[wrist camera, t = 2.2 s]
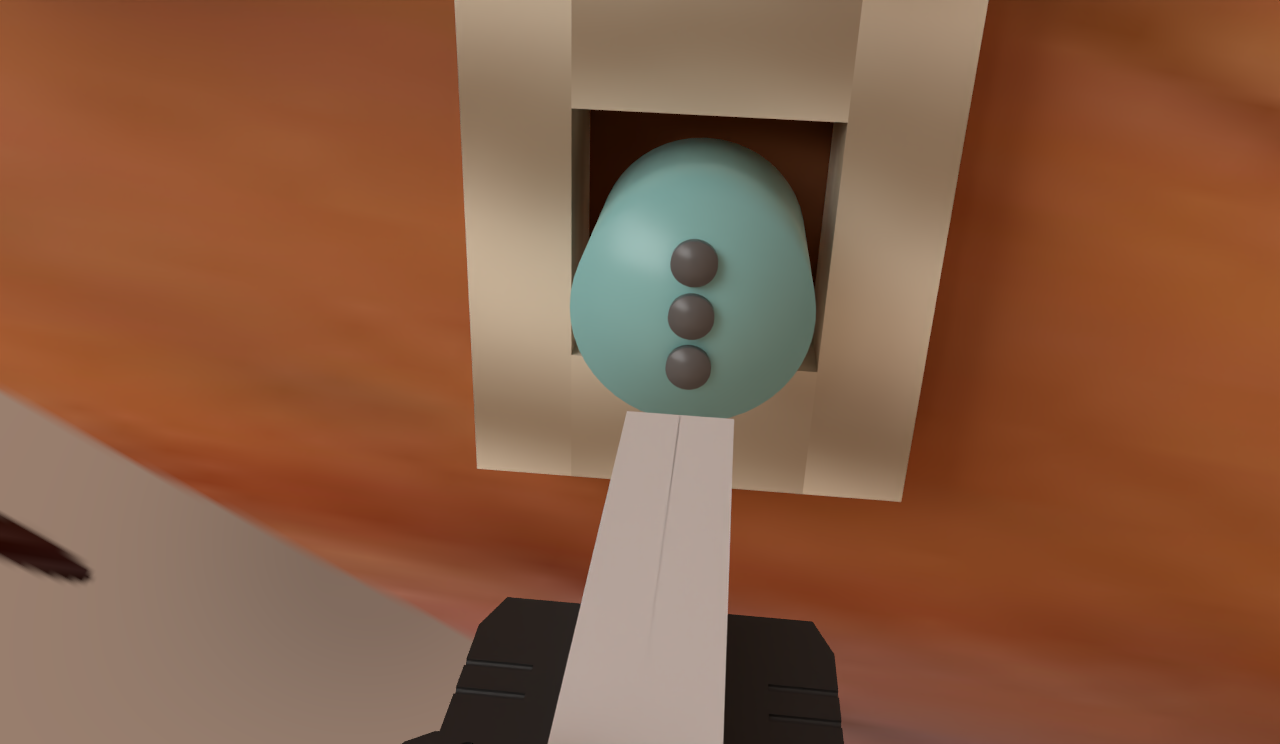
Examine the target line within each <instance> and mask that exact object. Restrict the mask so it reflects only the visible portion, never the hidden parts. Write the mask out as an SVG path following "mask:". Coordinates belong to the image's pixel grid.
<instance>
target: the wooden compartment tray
mask: <svg viewBox="0 0 1280 744" xmlns="http://www.w3.org/2000/svg"><path fill="white" fill-rule="evenodd" d="M988 1H989V0H455V21H456V42H457V62H458V83H459V104H460V124H461V145H462V166H463V186H464V207H465V228H466V248H467V269H468V290H469V310H470V331H471V352H472V372H473V393H474V414H475V434H476V455H477V469H489V470H502V471H515V472H528V473H540V474H553V475H566V476H579V477H591V478H604V479H611V476H612V472H613V467H614V463H615V459H616V455H617V451H618V446H619V442H620V438H621V434H622V430H623V426H624V421H625V417H626V413H627V411H633V412H643V411H640V410H638V409H636V408H634V407H633V406H631V405H629V404H627V403H625V402H624V401H623V400H621V399H620V398H618V397H617V396H615V395H614V394H613V393H612V392H611V391H609V390H608V389H607V388H606V387H605V386H604V385H603V384H602V383H601V382H600V381H599V380H598V379H597V378H596V376H595V375H594V374H593V373H592V371H591V370H590V368H589V367H588V365H587V364H586V363H585V361H584V359H583V357H582V355H581V353H580V351H579V349H578V346H577V343H576V340H575V338H574V334H573V330H572V325H571V318H570V295H571V288H572V284H573V279H574V276H575V273H576V270H577V267H578V265H579V262H580V260H581V258H582V255H583V253H584V251H585V248H586V246H587V244H588V241H589V204H590V109H594V110H613V111H632V112H652V113H671V114H690V115H709V116H729V117H748V118H767V119H786V120H806V121H825V122H834V125H833V134H832V142H831V151H830V160H829V168H828V177H827V186H826V194H825V203H824V211H823V220H822V229H821V237H820V246H819V255H818V263H817V272H816V281H815V289H814V292H815V302H816V321H815V328H814V333H813V338H812V341H811V344H810V347H809V350H808V352H807V354H806V356H805V358H804V360H803V362H802V364H801V366H800V367H799V369H798V370H797V371H796V373H795V374H794V376H793V377H792V378H791V379H790V380H789V382H788V383H787V384H786V385H785V386H784V387H783V388H782V389H781V390H780V391H779V392H777V393H776V394H775V395H774V396H773V397H771V398H770V399H768V400H767V401H765V402H764V403H762V404H761V405H759V406H757V407H755V408H753V409H751V410H749V411H747V412H745V413H742V414H739V415H736V416H733V417H731V418H726V419H734V437H733V466H732V489H744V490H757V491H769V492H782V493H795V494H808V495H820V496H833V497H846V498H859V499H871V500H884V501H897V502H901V500H902V494H903V488H904V483H905V477H906V471H907V465H908V460H909V454H910V448H911V443H912V437H913V431H914V425H915V420H916V414H917V408H918V402H919V397H920V391H921V385H922V379H923V374H924V368H925V362H926V357H927V351H928V345H929V339H930V334H931V328H932V322H933V316H934V311H935V305H936V299H937V293H938V288H939V282H940V276H941V271H942V265H943V259H944V253H945V248H946V242H947V236H948V230H949V225H950V219H951V213H952V207H953V202H954V196H955V190H956V185H957V179H958V173H959V167H960V162H961V156H962V150H963V144H964V139H965V133H966V127H967V121H968V116H969V110H970V104H971V99H972V93H973V87H974V81H975V76H976V70H977V64H978V58H979V53H980V47H981V41H982V35H983V30H984V24H985V18H986V13H987V7H988Z"/></svg>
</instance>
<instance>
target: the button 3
mask: <svg viewBox="0 0 1280 744" xmlns="http://www.w3.org/2000/svg"><path fill="white" fill-rule="evenodd" d="M570 318H571V325H572V330H573V334H574V338H575V340H576V343H577V346H578V349H579V351H580V353H581V355H582V357H583V359H584V361H585V363H586V364H587V365H588V367H589V368H590V370H591V371H592V373H593V374H594V375H595V376H596V378H597V379H598V380H599V381H600V382H601V383H602V384H603V385H604V386H605V387H606V388H607V389H608V390H609V391H611V392H612V393H613V394H614V395H615V396H617V397H618V398H620V399H621V400H623V401H624V402H625V403H627V404H629V405H631V406H633V407H634V408H636V409H638V410H640V411H643V412H647V413H660V414H673V415H687V416H700V417H713V418H731V417H733V416H736V415H739V414H742V413H745V412H747V411H749V410H751V409H753V408H755V407H757V406H759V405H761V404H762V403H764V402H765V401H767V400H768V399H770V398H771V397H773V396H774V395H775V394H776V393H777V392H779V391H780V390H781V389H782V388H783V387H784V386H785V385H786V384H787V383H788V382H789V380H790V379H791V378H792V377H793V376H794V374H795V373H796V371H797V370H798V369H799V367H800V366H801V364H802V362H803V360H804V358H805V356H806V354H807V352H808V350H809V347H810V344H811V341H812V338H813V333H814V328H815V321H816V302H815V292H814V285H813V279H812V273H811V266H810V260H809V253H808V247H807V240H806V234H805V227H804V221H803V217H802V212H801V208H800V205H799V203H798V200H797V198H796V195H795V193H794V192H793V190H792V188H791V186H790V185H789V183H788V182H787V180H786V179H785V178H784V176H783V175H782V174H781V173H780V172H779V171H778V170H777V169H776V168H775V167H774V166H773V165H772V164H771V163H770V162H769V161H768V160H766V159H765V158H764V157H762V156H761V155H760V154H758V153H756V152H754V151H752V150H751V149H749V148H747V147H744V146H742V145H739V144H737V143H734V142H730V141H726V140H722V139H715V138H688V139H681V140H677V141H673V142H670V143H666V144H664V145H662V146H659V147H657V148H655V149H653V150H651V151H649V152H648V153H646V154H644V155H643V156H641V157H640V158H639V159H637V160H636V161H635V162H634V163H632V164H631V165H630V166H629V167H628V168H627V169H626V170H625V171H624V172H623V173H622V175H621V176H620V177H619V179H618V180H617V182H616V183H615V184H614V186H613V188H612V190H611V192H610V194H609V195H608V198H607V200H606V202H605V204H604V207H603V209H602V211H601V214H600V216H599V218H598V221H597V223H596V225H595V228H594V230H593V232H592V234H591V237H590V239H589V241H588V244H587V246H586V248H585V251H584V253H583V255H582V258H581V260H580V262H579V265H578V267H577V270H576V273H575V276H574V279H573V284H572V288H571V295H570Z"/></svg>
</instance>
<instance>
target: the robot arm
mask: <svg viewBox="0 0 1280 744" xmlns="http://www.w3.org/2000/svg"><path fill="white" fill-rule="evenodd" d="M733 437H734V419H726V418H713V417H700V416H687V415H673V414H660V413H647V412H633V411H627V413H626V417H625V421H624V426H623V430H622V434H621V438H620V442H619V446H618V451H617V455H616V459H615V463H614V467H613V472H612V476H611V480H610V484H609V488H608V493H607V497H606V501H605V505H604V509H603V514H602V518H601V522H600V526H599V530H598V535H597V539H596V543H595V547H594V551H593V556H592V560H591V564H590V568H589V572H588V577H587V581H586V585H585V589H584V593H583V598H582V602H581V604H578V603H566V602H555V601H544V600H533V599H522V598H511V597H507V598H506V599H505V600H504V601H503V602H502V603H501V604H500V605H499V606H498V607H497V608H496V609H495V610H494V611H493V612H492V613H491V614H490V615H489V616H488V617H487V618H485V619H484V620H483V621H482V622H481V623H480V624H479V626H478V629H477V632H476V634H475V637H474V640H473V643H472V645H471V648H470V651H469V654H468V656H467V662H466V665H464V667H463V670H462V673H461V675H460V678H459V681H458V683H457V686H456V693H455V694H453V697H452V699H451V702H450V705H449V708H448V710H447V713H446V716H445V718H444V721H443V724H442V726H441V729H440V731H434V732H431V733H429V734H426V735H423V736H420V737H417V738H414V739H411V740H408V741H405V742H404V743H402V744H844V741H843V732H842V728H841V713H840V704H839V698H838V685H837V676H836V666H835V657H834V653H833V652H832V650H831V649H830V647H829V646H828V644H827V643H826V641H825V640H824V638H823V637H822V635H821V634H820V632H819V631H818V629H817V628H816V626H815V625H814V623H813V622H810V621H799V620H788V619H776V618H765V617H754V616H743V615H732V614H728V585H729V555H730V526H731V496H732V466H733Z"/></svg>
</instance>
